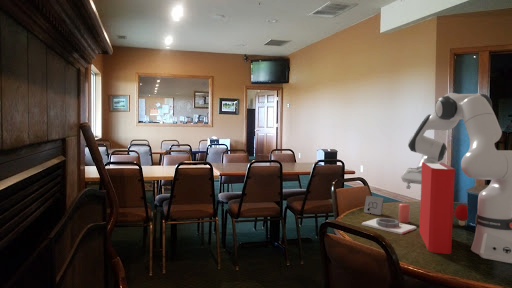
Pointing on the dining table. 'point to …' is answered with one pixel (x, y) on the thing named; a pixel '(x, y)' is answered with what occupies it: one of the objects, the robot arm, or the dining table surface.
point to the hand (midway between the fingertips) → (416, 189)
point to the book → (437, 207)
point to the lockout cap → (404, 213)
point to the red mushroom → (461, 213)
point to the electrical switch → (373, 205)
